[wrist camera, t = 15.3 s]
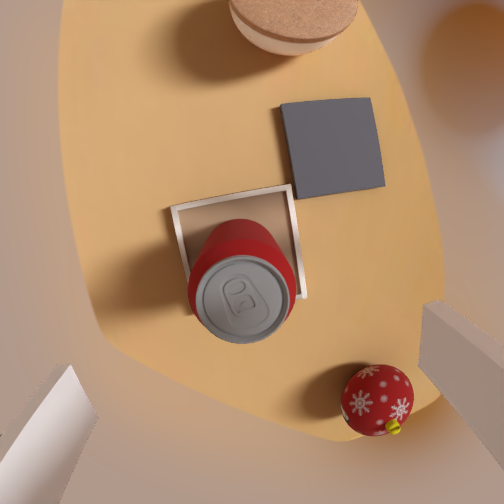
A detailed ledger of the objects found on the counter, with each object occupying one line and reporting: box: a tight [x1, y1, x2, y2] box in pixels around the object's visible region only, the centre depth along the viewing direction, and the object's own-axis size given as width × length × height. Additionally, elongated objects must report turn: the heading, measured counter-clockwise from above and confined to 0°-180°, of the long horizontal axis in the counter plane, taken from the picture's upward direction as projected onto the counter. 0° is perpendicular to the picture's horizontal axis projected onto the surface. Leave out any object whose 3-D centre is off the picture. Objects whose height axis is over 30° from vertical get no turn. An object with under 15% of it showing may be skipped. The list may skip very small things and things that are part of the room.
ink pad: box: [280, 98, 385, 199], centre depth 28 cm, size 9×9×1 cm
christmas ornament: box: [341, 365, 414, 436], centre depth 30 cm, size 9×9×10 cm
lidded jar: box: [229, 0, 358, 56], centre depth 21 cm, size 11×11×9 cm
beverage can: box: [188, 219, 296, 344], centre depth 23 cm, size 7×7×12 cm
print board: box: [170, 184, 307, 318], centre depth 29 cm, size 11×11×1 cm
